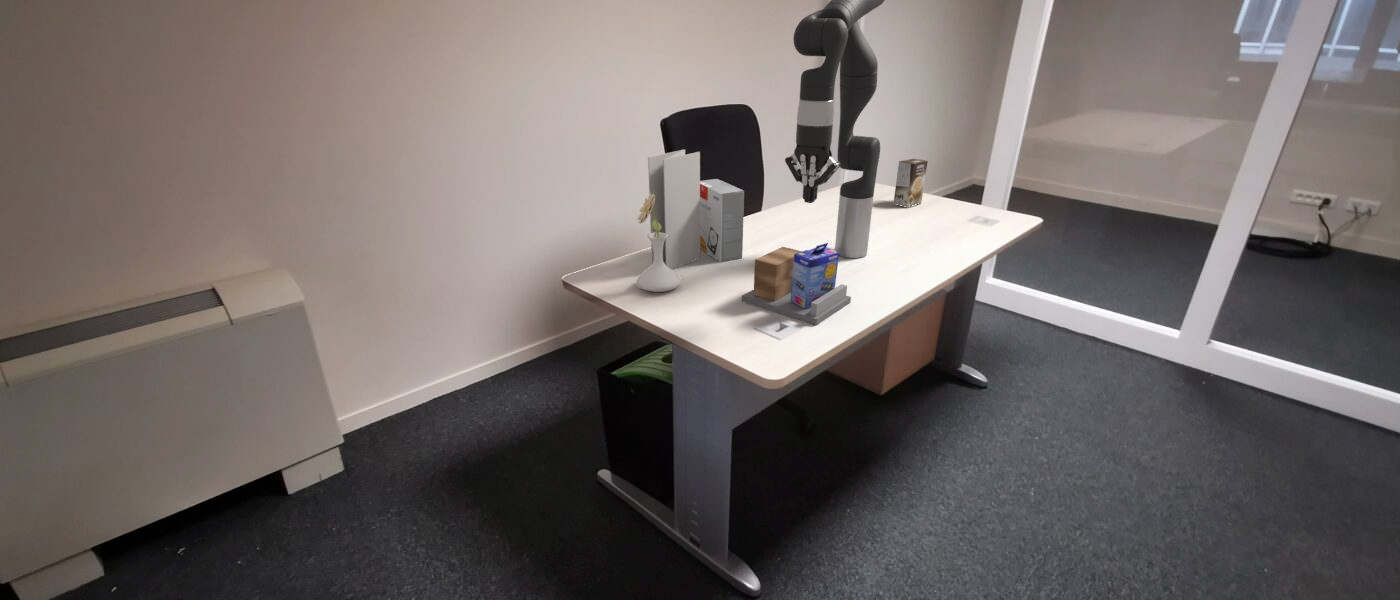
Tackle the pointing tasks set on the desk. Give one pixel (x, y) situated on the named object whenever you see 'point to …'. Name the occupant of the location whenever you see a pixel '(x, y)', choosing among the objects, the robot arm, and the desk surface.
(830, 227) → the desk surface
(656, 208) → the brochure
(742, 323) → the desk surface
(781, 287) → the cardboard box
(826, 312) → the shelf board
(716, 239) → the hard drive box
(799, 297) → the ink cartridge box
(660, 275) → the flower in vase
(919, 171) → the coffee box
